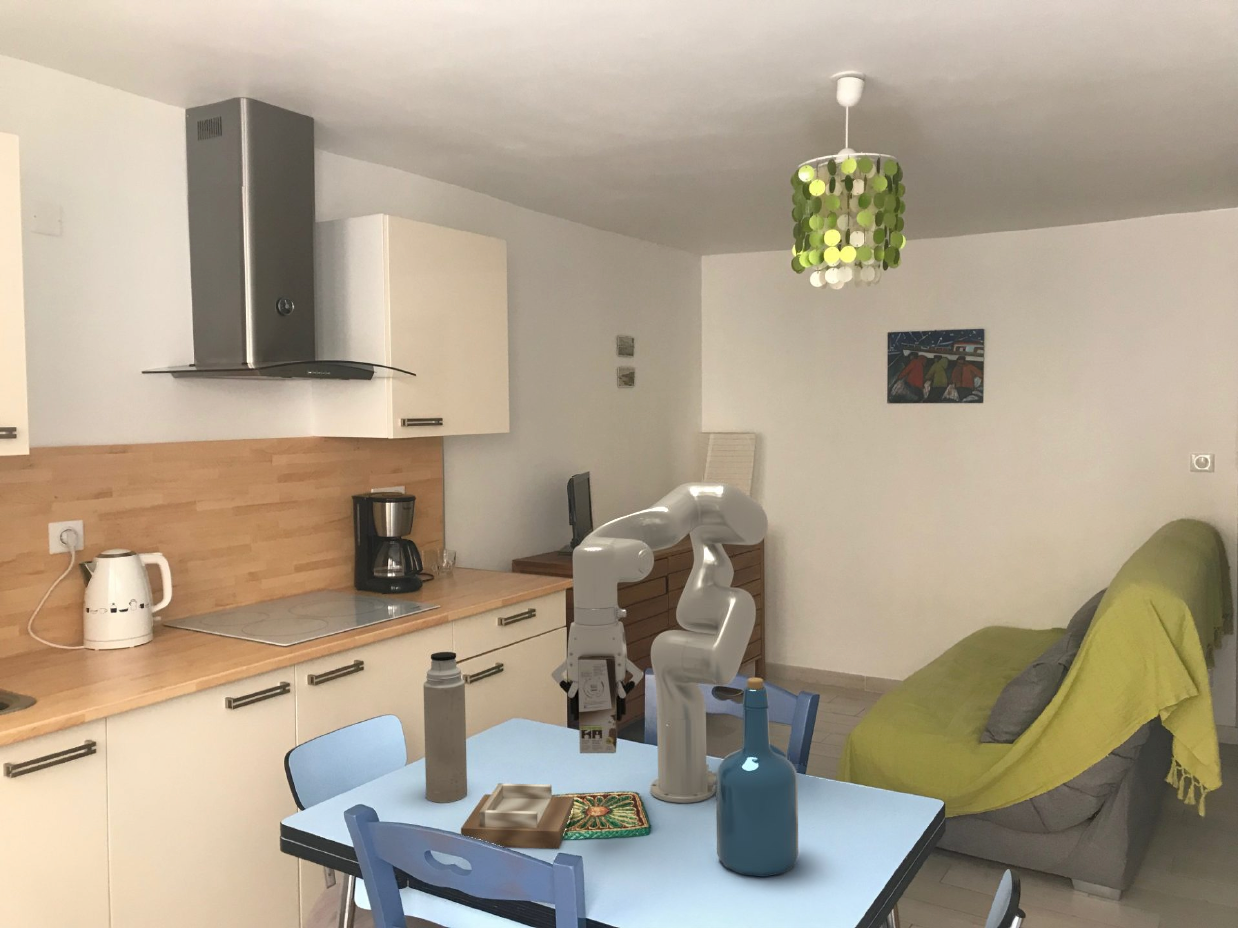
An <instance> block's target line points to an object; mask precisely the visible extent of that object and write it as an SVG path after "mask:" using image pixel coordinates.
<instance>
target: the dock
mask: <svg viewBox="0 0 1238 928" xmlns="http://www.w3.org/2000/svg"><path fill="white" fill-rule="evenodd" d="M552 793H553V792H552V784H541V783H540V784H536V783H534V784H532V783H498V784H497V786H496V787H495V788H494V790H493V791H492V792H491V794H486V793H485V794H484V795H483V796H482V797H481V799H480V800H479V802H478V803H477V805H476V806H475V807H474V809H473V810H472V812H471V813H470V815H469V816H468V817H467V819H466V820H465V822H464V823H463V825H462V826H461V828H460V835H461V834H462V835H464V836H469V837H473V838H476V839H481V840H483V841H487V842H489V843H494V844H496V845H500V846H504V847H503V848H517V849H518V848H521V849H522V848H524V849H525V848H526V849H527V848H528V849H549V850H550V849H551V850H553V849H554V850H555V849H556V850H559V849H560V848H561V847H560V846H561V845H562V843H563V840H562V838H563V833H564V830H565V828H566V825H567V822H568V819H569V816H570V814H571V810H572V808H573V806H574V807H575V797H574V796H562V795H560V796H557V795H556V796H555V795H552ZM563 839H564V838H563Z"/></svg>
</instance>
